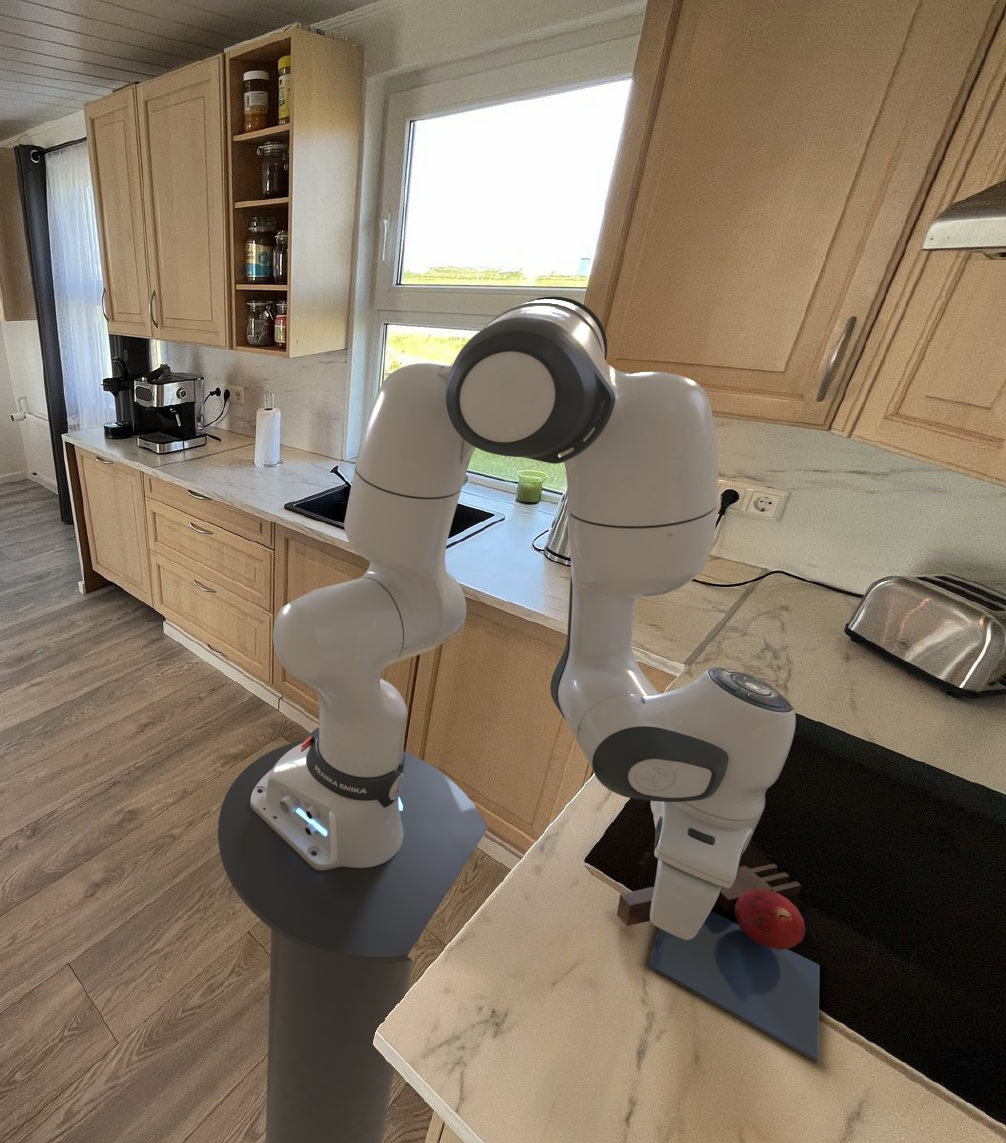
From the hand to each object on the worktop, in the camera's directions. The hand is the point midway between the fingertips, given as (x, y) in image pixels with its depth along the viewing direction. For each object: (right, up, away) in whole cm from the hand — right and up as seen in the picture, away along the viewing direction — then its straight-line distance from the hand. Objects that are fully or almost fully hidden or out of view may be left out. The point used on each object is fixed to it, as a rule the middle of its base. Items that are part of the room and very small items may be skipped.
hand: (667, 898), depth 72 cm
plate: (+4, -5, -4) cm, 8 cm away
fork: (+5, -1, +1) cm, 6 cm away
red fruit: (+10, -2, -1) cm, 10 cm away
